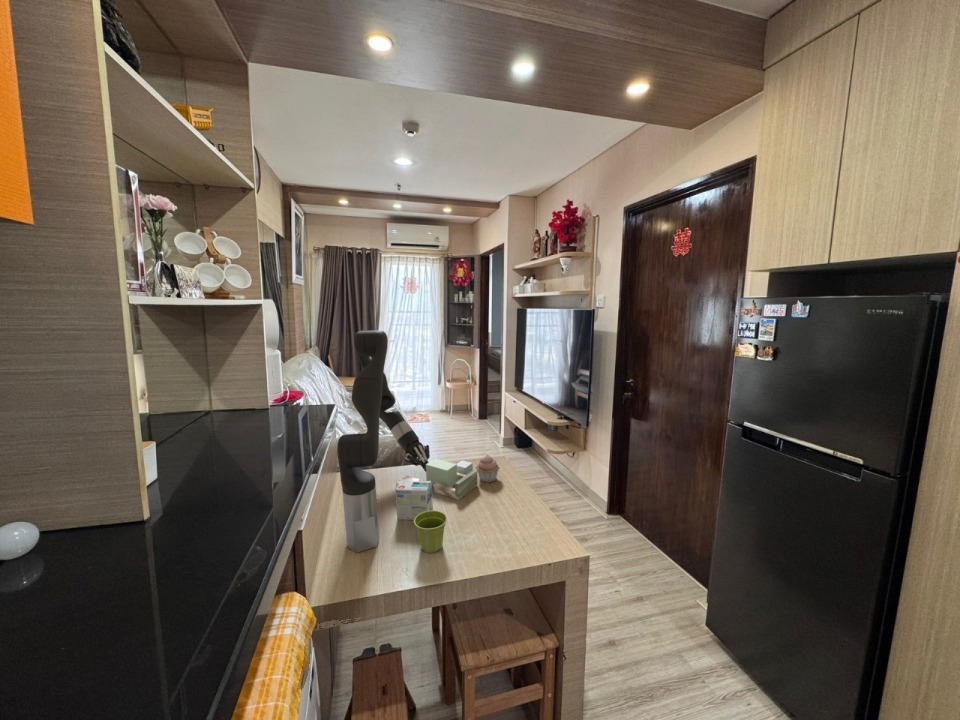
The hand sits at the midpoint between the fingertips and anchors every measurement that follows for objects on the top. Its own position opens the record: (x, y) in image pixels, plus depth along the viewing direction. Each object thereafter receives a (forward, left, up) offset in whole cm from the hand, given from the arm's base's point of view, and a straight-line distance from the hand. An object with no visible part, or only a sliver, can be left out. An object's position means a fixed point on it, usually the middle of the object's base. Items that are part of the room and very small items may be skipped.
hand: (429, 471), depth 154 cm
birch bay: (-11, -6, -4) cm, 13 cm away
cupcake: (-10, -20, -4) cm, 23 cm away
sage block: (-5, -3, -4) cm, 7 cm away
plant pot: (-38, +14, -4) cm, 40 cm away
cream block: (-7, +11, -4) cm, 14 cm away
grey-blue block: (-3, -13, -4) cm, 14 cm away
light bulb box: (-20, +13, -4) cm, 24 cm away
